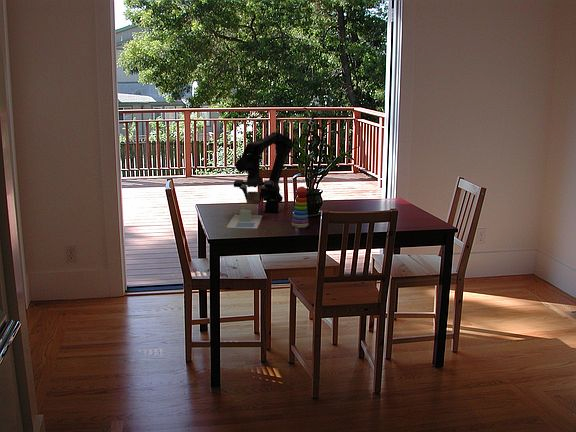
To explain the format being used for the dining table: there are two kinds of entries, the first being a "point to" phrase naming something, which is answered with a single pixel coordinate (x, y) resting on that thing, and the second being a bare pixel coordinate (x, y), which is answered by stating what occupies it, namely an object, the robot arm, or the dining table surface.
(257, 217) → the build board
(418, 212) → the dining table surface
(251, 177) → the robot arm
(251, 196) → the walnut block
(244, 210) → the sage block
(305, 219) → the stacking toy
